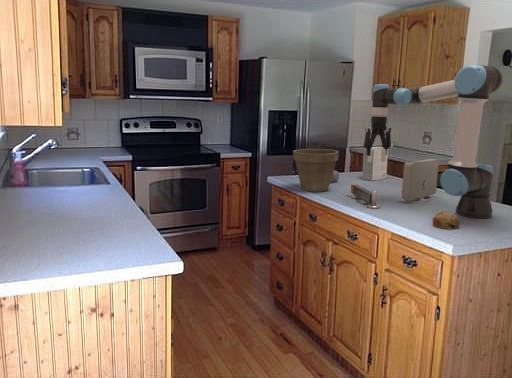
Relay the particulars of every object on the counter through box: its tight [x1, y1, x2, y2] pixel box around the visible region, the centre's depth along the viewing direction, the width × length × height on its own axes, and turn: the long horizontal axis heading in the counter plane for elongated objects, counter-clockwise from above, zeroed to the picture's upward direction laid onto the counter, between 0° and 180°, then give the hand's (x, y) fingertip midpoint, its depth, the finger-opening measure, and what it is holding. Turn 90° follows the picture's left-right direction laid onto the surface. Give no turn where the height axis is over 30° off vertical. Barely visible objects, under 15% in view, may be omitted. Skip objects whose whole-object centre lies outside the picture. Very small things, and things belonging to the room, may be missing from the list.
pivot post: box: [366, 189, 381, 210], centre depth 221 cm, size 6×6×8 cm
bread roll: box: [431, 211, 460, 230], centre depth 191 cm, size 10×10×8 cm
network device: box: [401, 158, 440, 204], centre depth 238 cm, size 26×9×20 cm, turn 129°
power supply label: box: [355, 199, 371, 205], centre depth 232 cm, size 8×7×1 cm
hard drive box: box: [361, 146, 389, 182], centre depth 295 cm, size 16×8×20 cm, turn 130°
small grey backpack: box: [330, 169, 340, 184], centre depth 284 cm, size 15×8×20 cm
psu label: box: [346, 194, 362, 200], centre depth 243 cm, size 8×7×1 cm
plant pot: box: [292, 148, 339, 193], centre depth 260 cm, size 25×25×22 cm
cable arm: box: [350, 183, 372, 203], centre depth 235 cm, size 24×3×5 cm, turn 10°
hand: (376, 161), depth 237 cm, fingers open, 7 cm apart
